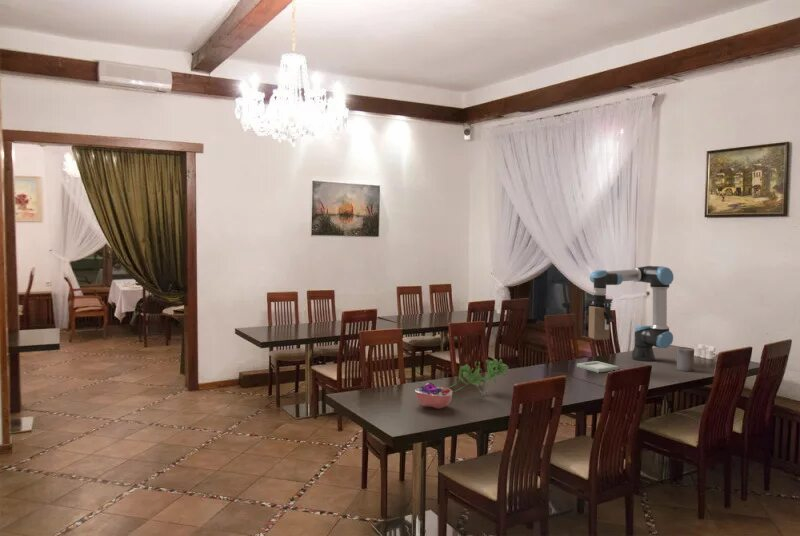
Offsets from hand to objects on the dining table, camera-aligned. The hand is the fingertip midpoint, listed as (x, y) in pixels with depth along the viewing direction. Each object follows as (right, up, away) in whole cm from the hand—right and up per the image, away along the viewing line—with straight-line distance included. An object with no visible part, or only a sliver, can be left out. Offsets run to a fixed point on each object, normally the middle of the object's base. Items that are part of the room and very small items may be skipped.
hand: (598, 328), depth 372 cm
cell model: (-110, -29, -89) cm, 144 cm away
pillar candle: (+55, -27, 0) cm, 61 cm away
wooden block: (0, -7, 0) cm, 7 cm away
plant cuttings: (-86, -28, -62) cm, 110 cm away
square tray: (0, -26, +1) cm, 26 cm away
